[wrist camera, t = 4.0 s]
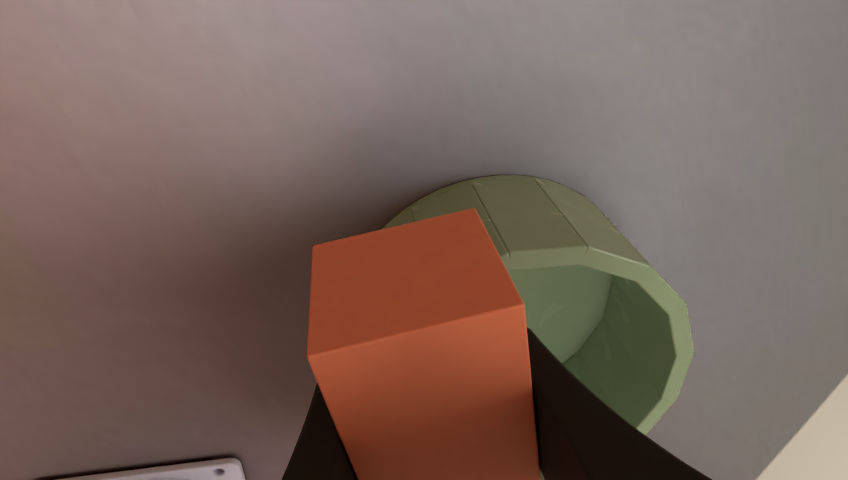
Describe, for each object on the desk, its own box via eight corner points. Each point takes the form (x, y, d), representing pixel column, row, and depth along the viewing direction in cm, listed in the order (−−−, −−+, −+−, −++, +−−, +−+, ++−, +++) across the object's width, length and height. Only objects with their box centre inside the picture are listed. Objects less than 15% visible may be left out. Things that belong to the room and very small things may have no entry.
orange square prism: (504, 411, 16) (545, 528, 13) (381, 442, 16) (394, 568, 13) (475, 206, 12) (525, 304, 9) (311, 244, 12) (306, 357, 9)
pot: (355, 413, 26) (361, 520, 21) (335, 184, 19) (336, 266, 15) (594, 385, 27) (647, 479, 23) (649, 165, 21) (739, 234, 16)
